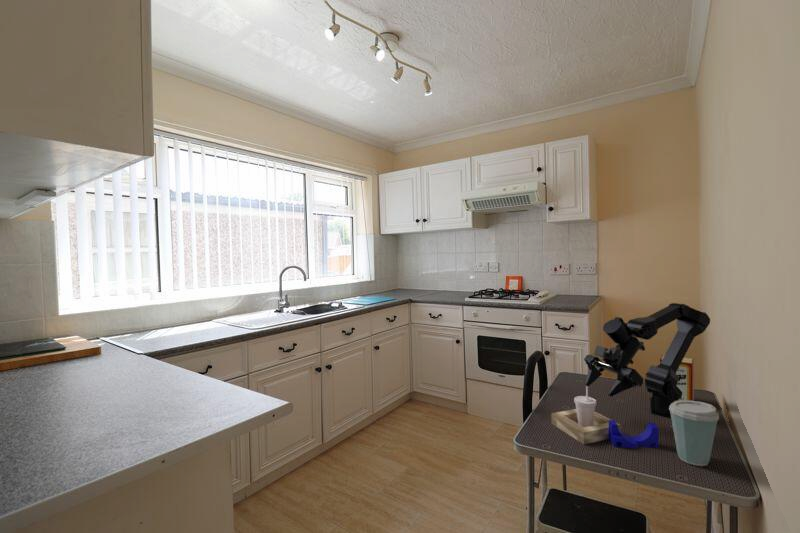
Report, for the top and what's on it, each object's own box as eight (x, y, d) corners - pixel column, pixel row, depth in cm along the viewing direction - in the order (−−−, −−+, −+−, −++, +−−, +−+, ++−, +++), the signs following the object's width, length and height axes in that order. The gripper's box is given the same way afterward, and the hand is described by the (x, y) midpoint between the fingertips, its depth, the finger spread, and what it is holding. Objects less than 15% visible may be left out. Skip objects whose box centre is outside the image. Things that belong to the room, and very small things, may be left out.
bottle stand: (586, 417, 128) (586, 406, 128) (621, 436, 114) (621, 424, 114) (551, 423, 124) (551, 413, 124) (583, 444, 110) (583, 432, 110)
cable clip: (613, 447, 109) (613, 427, 108) (608, 439, 113) (608, 420, 113) (660, 451, 106) (660, 430, 106) (653, 443, 110) (653, 423, 110)
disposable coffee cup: (670, 464, 99) (670, 408, 99) (667, 445, 108) (667, 394, 108) (722, 475, 94) (723, 416, 93) (714, 455, 103) (715, 401, 102)
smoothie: (597, 436, 115) (596, 391, 114) (574, 432, 118) (573, 388, 117) (596, 427, 121) (596, 384, 120) (574, 423, 123) (574, 381, 123)
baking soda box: (693, 401, 138) (693, 358, 137) (692, 407, 133) (692, 362, 132) (662, 395, 144) (662, 354, 144) (660, 400, 139) (660, 358, 139)
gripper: (587, 331, 130) (561, 366, 127) (635, 343, 112) (606, 385, 109) (606, 351, 132) (581, 386, 130) (656, 366, 114) (628, 407, 112)
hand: (597, 390), depth 120 cm, fingers open, 9 cm apart
